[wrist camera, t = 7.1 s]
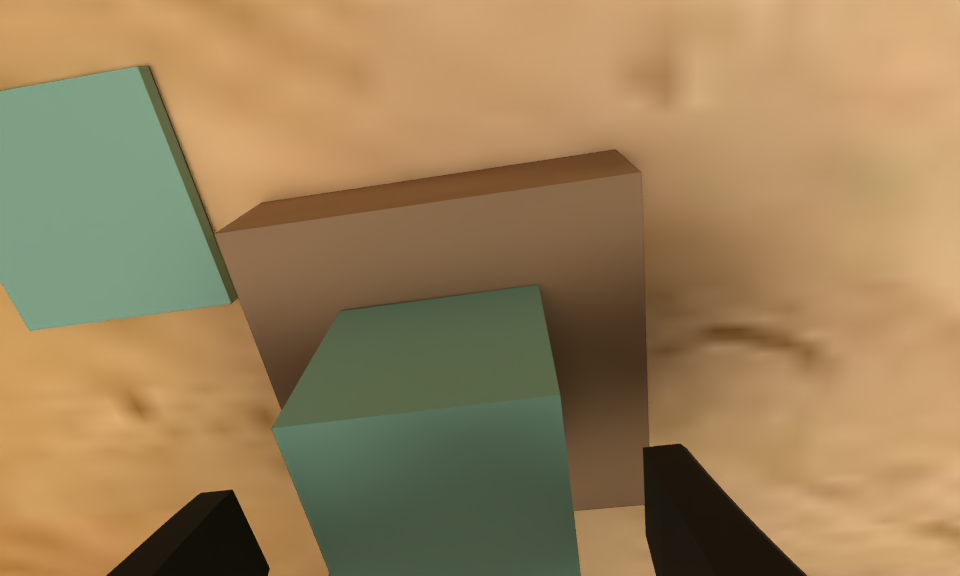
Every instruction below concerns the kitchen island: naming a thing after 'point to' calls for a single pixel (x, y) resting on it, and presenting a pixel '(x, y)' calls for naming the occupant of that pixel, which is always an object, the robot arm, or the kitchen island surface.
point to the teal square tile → (100, 205)
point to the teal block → (434, 441)
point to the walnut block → (474, 284)
